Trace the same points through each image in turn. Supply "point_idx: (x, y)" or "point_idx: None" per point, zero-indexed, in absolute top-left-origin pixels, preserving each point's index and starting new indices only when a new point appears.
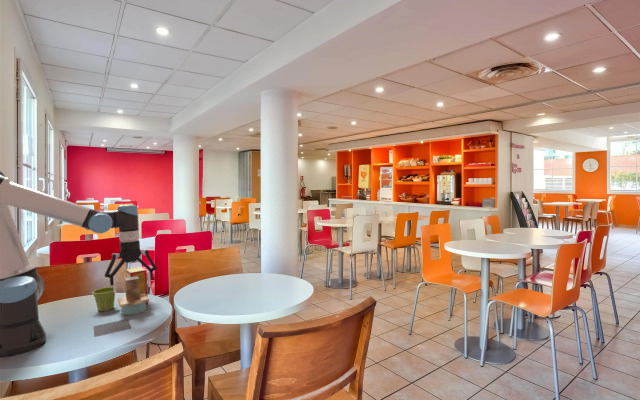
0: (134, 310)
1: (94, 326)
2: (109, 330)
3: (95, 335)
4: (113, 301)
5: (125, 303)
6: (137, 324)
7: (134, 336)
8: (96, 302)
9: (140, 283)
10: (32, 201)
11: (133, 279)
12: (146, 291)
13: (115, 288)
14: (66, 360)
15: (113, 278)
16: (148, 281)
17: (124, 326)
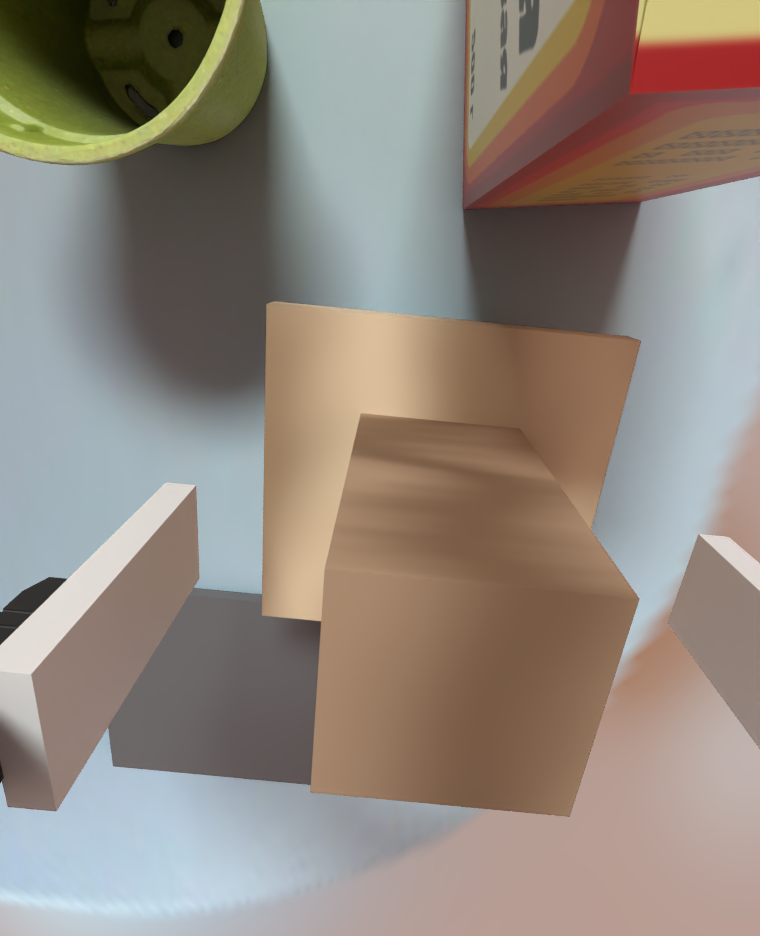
0: None
1: None
2: (198, 733)
3: (118, 751)
4: (244, 80)
5: (321, 607)
6: None
7: (324, 859)
8: (7, 28)
9: (708, 163)
10: None
11: (458, 803)
12: (713, 182)
13: (163, 624)
14: (20, 896)
15: (20, 797)
16: (726, 671)
17: (291, 732)
